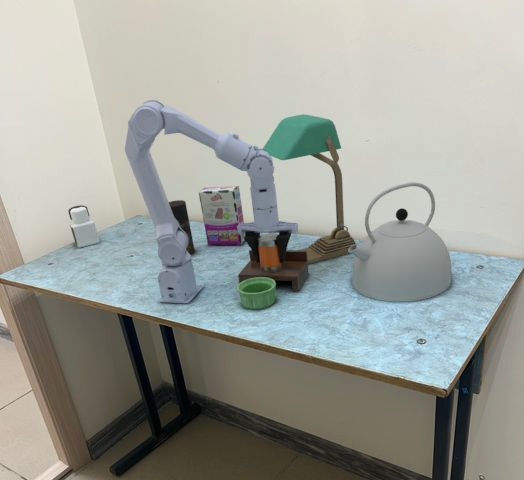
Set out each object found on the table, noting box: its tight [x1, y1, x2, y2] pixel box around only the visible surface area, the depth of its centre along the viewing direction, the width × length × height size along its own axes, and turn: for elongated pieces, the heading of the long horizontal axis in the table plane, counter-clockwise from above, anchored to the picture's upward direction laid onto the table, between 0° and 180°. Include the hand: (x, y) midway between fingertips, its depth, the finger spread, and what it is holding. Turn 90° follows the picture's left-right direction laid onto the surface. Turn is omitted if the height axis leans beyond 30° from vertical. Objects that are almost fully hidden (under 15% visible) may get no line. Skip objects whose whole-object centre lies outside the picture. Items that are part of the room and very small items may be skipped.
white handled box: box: [67, 204, 101, 249], centre depth 177 cm, size 7×7×12 cm
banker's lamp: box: [262, 113, 357, 265], centre depth 139 cm, size 16×21×35 cm
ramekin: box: [236, 277, 277, 310], centre depth 126 cm, size 9×9×4 cm
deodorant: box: [168, 199, 196, 256], centre depth 157 cm, size 6×6×15 cm
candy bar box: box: [198, 185, 246, 246], centre depth 160 cm, size 11×5×16 cm, turn 73°
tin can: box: [257, 233, 283, 273], centre depth 131 cm, size 6×6×8 cm
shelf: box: [237, 249, 310, 293], centre depth 134 cm, size 10×15×6 cm, turn 71°
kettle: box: [348, 181, 452, 303], centre depth 122 cm, size 25×23×22 cm
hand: (271, 261), depth 132 cm, fingers closed on tin can, 5 cm apart
